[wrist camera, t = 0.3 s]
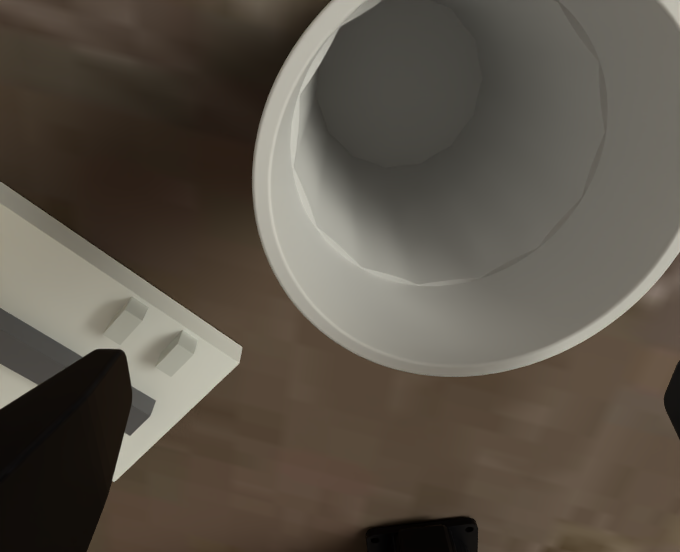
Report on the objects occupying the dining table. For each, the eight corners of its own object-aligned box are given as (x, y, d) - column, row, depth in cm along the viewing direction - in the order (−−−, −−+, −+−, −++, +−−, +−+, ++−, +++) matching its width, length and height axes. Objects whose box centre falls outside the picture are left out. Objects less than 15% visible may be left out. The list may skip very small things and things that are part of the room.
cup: (250, 132, 21) (188, 298, 10) (340, -98, 17) (389, -211, 7) (432, 213, 22) (539, 422, 12) (545, 21, 19) (831, 77, 9)
